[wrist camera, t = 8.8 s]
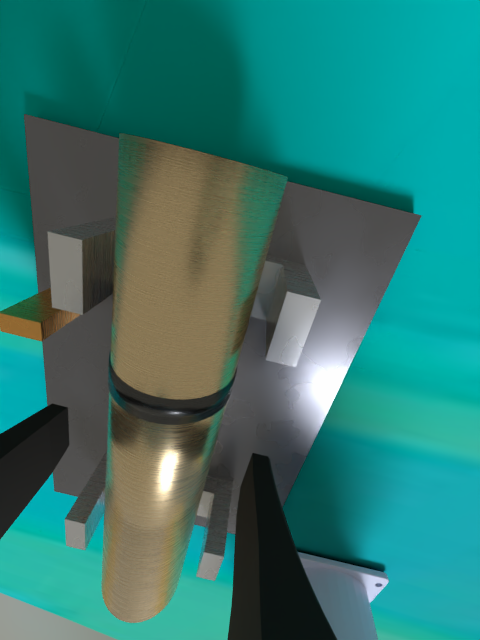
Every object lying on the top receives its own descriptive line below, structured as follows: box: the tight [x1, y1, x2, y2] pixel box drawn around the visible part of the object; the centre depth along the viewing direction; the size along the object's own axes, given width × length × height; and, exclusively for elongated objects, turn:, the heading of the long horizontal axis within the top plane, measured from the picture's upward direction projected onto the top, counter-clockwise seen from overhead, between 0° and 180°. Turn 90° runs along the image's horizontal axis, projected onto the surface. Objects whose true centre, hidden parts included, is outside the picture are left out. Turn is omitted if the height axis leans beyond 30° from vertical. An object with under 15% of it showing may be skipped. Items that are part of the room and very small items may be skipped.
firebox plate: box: [0, 114, 421, 581], centre depth 14 cm, size 22×15×5 cm
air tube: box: [102, 133, 288, 623], centre depth 13 cm, size 22×4×4 cm, turn 167°
